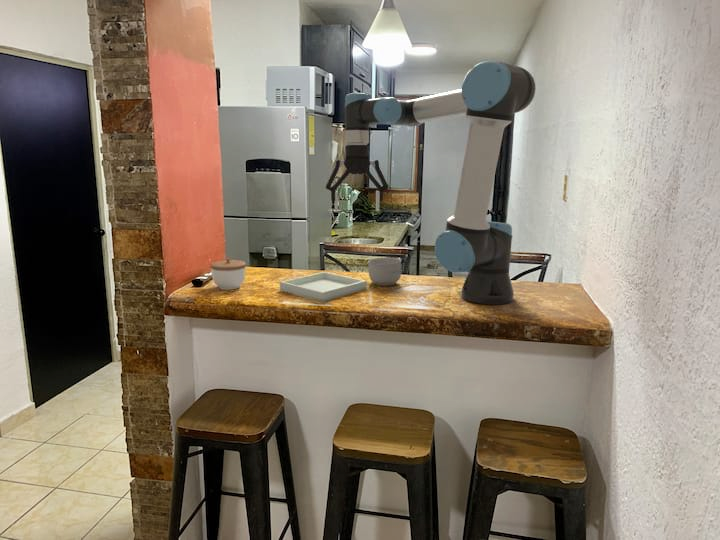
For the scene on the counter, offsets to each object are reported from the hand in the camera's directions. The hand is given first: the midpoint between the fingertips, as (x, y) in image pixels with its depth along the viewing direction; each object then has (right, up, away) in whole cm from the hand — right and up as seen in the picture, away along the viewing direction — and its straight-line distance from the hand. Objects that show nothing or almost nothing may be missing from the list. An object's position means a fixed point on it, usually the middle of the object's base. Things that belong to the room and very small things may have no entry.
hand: (357, 211), depth 175 cm
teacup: (+9, -23, +3) cm, 25 cm away
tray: (-10, -25, -8) cm, 28 cm away
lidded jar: (-40, -25, -5) cm, 48 cm away
